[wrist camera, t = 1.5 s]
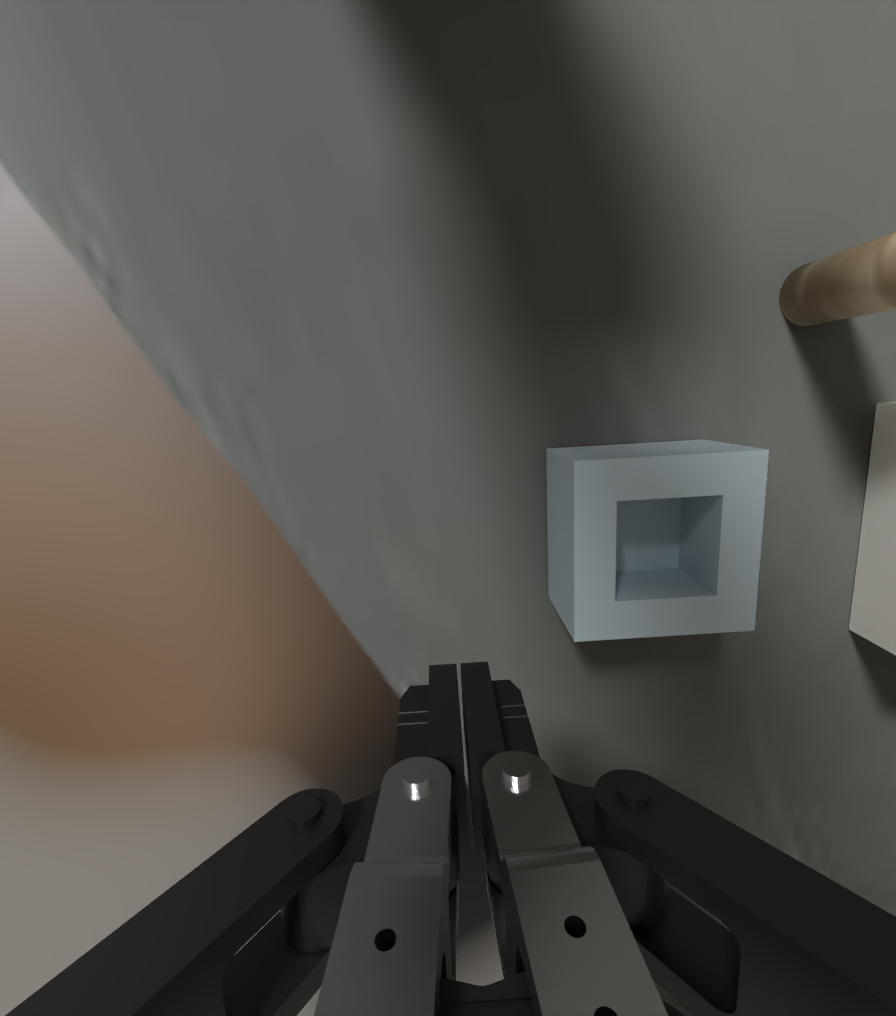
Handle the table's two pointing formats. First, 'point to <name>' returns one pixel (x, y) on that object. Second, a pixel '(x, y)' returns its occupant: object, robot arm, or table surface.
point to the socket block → (655, 538)
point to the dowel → (843, 284)
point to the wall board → (878, 539)
